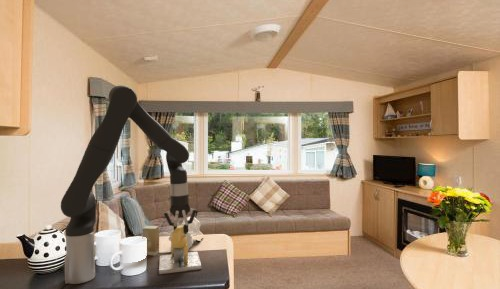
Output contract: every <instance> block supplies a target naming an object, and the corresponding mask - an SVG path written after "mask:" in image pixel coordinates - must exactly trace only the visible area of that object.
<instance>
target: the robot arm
mask: <svg viewBox="0 0 500 289" xmlns="http://www.w3.org/2000/svg"><path fill="white" fill-rule="evenodd" d="M108 100H109V102H108V106H107V110H106V113H105V116H104V118H103V120H102V121H101V122H100V124H99V126H98V127H97V128H96V129H95V131H94V133H93V135H92V136H91V138H90V139H89V140H88V143H87V147H86V149H85V151H84V154H83V155H82V158H81V160H80V163H79V165H78V168H77V170H76V173H75V174H74V177H73V178H72V181H71V183H70V185H69V186H68V187H67V190H66V191H65V193H64V194H63V197H62V198H61V202H60V210H61V213H62V214H63V215H64V216H66V217H68V218H70V219H69V222H68V224H67V226H66V228H65V250H66V251H65V252H66V255H65V256H64V280H65V281H64V282H65V284H71V285H76V284H83V283H87V282H89V281H92V280H93V279H94V278H95V277H96V260H95V259H96V258H95V257H96V256H95V255H96V254H95V253H96V251H95V225H96V219H97V213H96V212H97V202H96V197H95V194H94V193H93V192H92V189H93V187H94V185H95V184H96V182H97V181H98V179H99V178H100V177H101V175H102V174H103V173H104V171H105V170H106V169H107V168H108V166H109V164H110V163H111V161H112V158H113V156H114V154H115V151H116V149H117V146H118V145H119V142H120V139H121V136H122V133H123V130H124V129H125V128H124V127H125V126H126V123H127V122H128V120H129V119H130V120H131V121H133V123H135V124H136V126H138V128H139V129H140V130H141V131H142V132H143V133H144V134H145V135H146V137H147V138H148V139H149V140H150V141H151V142H152V143H153V144H154V145H155V146H156V147H157V148H158V149H160V150H162V151H164V152H166V154H165V160H166V164H167V168H168V172H169V181H170V186H169V193H170V195H169V196H170V199H169V200H170V208H169V210H167V211H164V212H163V216H164V217H165V219H166V221H167V223H168V225H169V226H171V227H173V230H175V229H176V228H177V227H178V225H177V224H178V219H180V218H182V219H183V221H185V234H187V233H188V225H189V224H190V223H192V222H193V219H194V218H195V216H196V213H197V209H196V208H192V207H191V206H190V203H189V202H190V198H189V186H188V174H187V170H186V169H185V168H184V167H183V164H184V163H186V162H187V161H188V160H189V158H190V155H189V154H190V153H189V149H187V148H186V147H185V146H184V145H183V143H181V142H180V141H178V140H177V139H175V138H174V137H173V136H171V134H170V133H169V132H168V131H167V130H166V128H164V127H163V126H162V124H160V123H159V122H158V121H157V120H155V118H153V116H151V115H150V114H149V113H148V112H147V110H145V109H144V107H142V106H141V103H140V102H139V101H138V96H137V94H136V92H135V90H134V89H133V88H131V87H129V86H125V85H117V86H114V87H112V88H111V89H110V91H109V93H108ZM189 212H190V216H189V217H190V219H189V220H188V221H187V218H188V217H187V216H188V214H189ZM171 215H173V217H174V219H173V221H172V219H171V217H170V216H171Z"/></svg>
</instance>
